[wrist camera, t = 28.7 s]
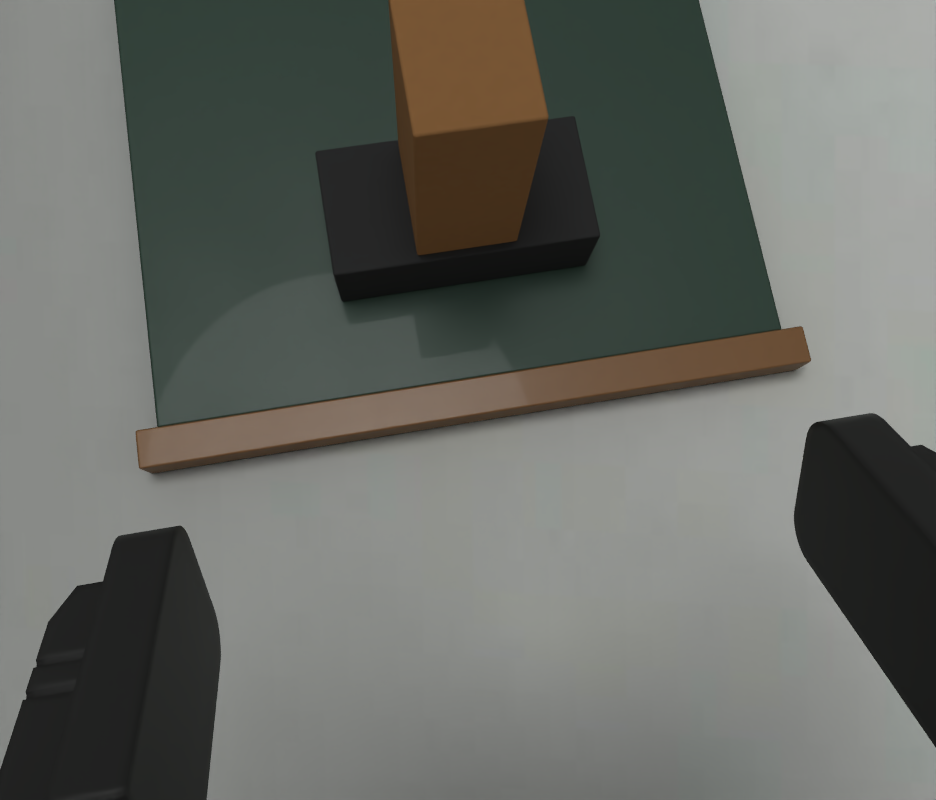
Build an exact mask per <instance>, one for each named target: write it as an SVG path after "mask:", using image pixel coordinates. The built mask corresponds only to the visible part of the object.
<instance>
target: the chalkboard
mask: <svg viewBox="0 0 936 800" xmlns="http://www.w3.org/2000/svg"><path fill="white" fill-rule="evenodd" d="M524 1H525V6H526V11H527V16H528V21H529V25H530V30H531V35H532V40H533V44H534V49H535V54H536V59H537V64H538V68H539V73H540V78H541V83H542V87H543V92H544V97H545V102H546V106H547V111H548V116H549V117H548V119H555V118H562V117H569V116H574V117H575V119H576V124H577V129H578V133H579V138H580V143H581V147H582V152H583V156H584V161H585V166H586V170H587V175H588V180H589V184H590V189H591V193H592V198H593V203H594V207H595V212H596V217H597V221H598V226H599V230H600V237H599V239H598V241H597V243H596V245H595V248H594V250H593V252H592V254H591V256H590V258H589V260H588V262H587V264H586V265H584V266H577V267H571V268H564V269H557V270H551V271H544V272H537V273H531V274H524V275H517V276H511V277H504V278H497V279H491V280H484V281H478V282H471V283H464V284H458V285H451V286H444V287H438V288H431V289H424V290H418V291H411V292H404V293H398V294H391V295H384V296H378V297H371V298H365V299H358V300H351V301H345V302H344V301H342V300H341V298H340V294H339V291H338V288H337V285H336V282H335V278H334V275H333V270H332V263H331V256H330V250H329V243H328V236H327V230H326V223H325V216H324V210H323V203H322V196H321V190H320V183H319V176H318V170H317V163H316V156H315V153H316V151H321V150H328V149H335V148H343V147H350V146H357V145H364V144H372V143H379V142H386V141H394V140H398V131H397V116H396V102H395V88H394V74H393V59H392V45H391V31H390V16H389V2H388V0H114V4H115V14H116V23H117V33H118V43H119V53H120V63H121V73H122V83H123V92H124V102H125V112H126V122H127V132H128V142H129V152H130V161H131V171H132V181H133V191H134V201H135V211H136V221H137V230H138V240H139V250H140V260H141V270H142V280H143V290H144V299H145V309H146V319H147V329H148V339H149V349H150V359H151V369H152V378H153V388H154V398H155V408H156V418H157V426H158V427H155V428H149V429H143V430H137V431H136V442H137V452H138V463H139V468H140V469H142V470H144V471H147V472H149V473H158V472H164V471H171V470H177V469H183V468H189V467H195V466H202V465H208V464H214V463H220V462H227V461H233V460H239V459H245V458H251V457H258V456H264V455H270V454H276V453H283V452H289V451H295V450H301V449H307V448H314V447H320V446H326V445H332V444H339V443H345V442H351V441H357V440H363V439H370V438H376V437H382V436H388V435H395V434H401V433H407V432H413V431H420V430H426V429H432V428H438V427H444V426H451V425H457V424H463V423H469V422H476V421H482V420H488V419H494V418H500V417H507V416H513V415H519V414H525V413H532V412H538V411H544V410H550V409H556V408H563V407H569V406H575V405H581V404H588V403H594V402H600V401H606V400H612V399H619V398H625V397H631V396H637V395H644V394H650V393H656V392H662V391H668V390H675V389H681V388H687V387H693V386H700V385H706V384H712V383H718V382H725V381H731V380H737V379H743V378H749V377H756V376H762V375H768V374H774V373H781V372H787V371H793V370H797V369H798V368H800V367H802V366H803V365H805V364H807V363H809V362H810V361H811V358H810V354H809V350H808V346H807V343H806V339H805V335H804V331H803V327H794V328H787V329H781V326H780V322H779V318H778V314H777V310H776V306H775V302H774V298H773V294H772V290H771V286H770V282H769V278H768V274H767V270H766V266H765V262H764V258H763V254H762V250H761V246H760V242H759V238H758V234H757V230H756V227H755V223H754V219H753V215H752V211H751V207H750V203H749V199H748V195H747V191H746V187H745V183H744V179H743V175H742V171H741V167H740V163H739V159H738V155H737V151H736V147H735V143H734V139H733V135H732V131H731V127H730V123H729V119H728V115H727V111H726V107H725V103H724V99H723V95H722V91H721V87H720V83H719V79H718V76H717V72H716V68H715V64H714V60H713V56H712V52H711V48H710V44H709V40H708V36H707V32H706V28H705V24H704V20H703V16H702V12H701V8H700V4H699V0H524Z"/></svg>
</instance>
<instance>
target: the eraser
mask: <svg viewBox="0 0 936 800" xmlns="http://www.w3.org/2000/svg"><path fill="white" fill-rule="evenodd" d="M388 2H389V16H390V31H391V45H392V59H393V74H394V88H395V102H396V116H397V131H398V140H394V141H386V142H379V143H372V144H364V145H357V146H350V147H343V148H335V149H328V150H321V151H316V153H315V156H316V163H317V170H318V176H319V183H320V190H321V196H322V203H323V210H324V216H325V223H326V230H327V236H328V243H329V250H330V256H331V263H332V270H333V275H334V278H335V282H336V285H337V288H338V291H339V294H340V298H341V300H342V301H344V302H345V301H351V300H358V299H365V298H371V297H378V296H384V295H391V294H398V293H404V292H411V291H418V290H424V289H431V288H438V287H444V286H451V285H458V284H464V283H471V282H478V281H484V280H491V279H497V278H504V277H511V276H517V275H524V274H531V273H537V272H544V271H551V270H557V269H564V268H571V267H577V266H584V265H586V264H587V262H588V260H589V258H590V256H591V254H592V252H593V250H594V248H595V245H596V243H597V241H598V239H599V237H600V230H599V226H598V221H597V217H596V212H595V207H594V203H593V198H592V193H591V189H590V184H589V180H588V175H587V170H586V166H585V161H584V156H583V152H582V147H581V143H580V138H579V133H578V129H577V124H576V119H575V117H574V116H569V117H562V118H555V119H548V117H549V116H548V111H547V106H546V102H545V97H544V92H543V87H542V83H541V78H540V73H539V68H538V64H537V59H536V54H535V49H534V44H533V40H532V35H531V30H530V25H529V21H528V16H527V11H526V6H525V1H524V0H388Z"/></svg>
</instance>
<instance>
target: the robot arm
mask: <svg viewBox="0 0 936 800" xmlns="http://www.w3.org/2000/svg"><path fill="white" fill-rule="evenodd" d="M794 525H795V531H796V536H797V540H798V543H799V546H800V548H801V551H802V553H803V555H804V557H805V558H806V560H807V562H808V563H809V565H810V566H811V567H812V569H813V570H814V572H815V573H816V575H817V576H818V578H819V579H820V580H821V582H822V583H823V585H824V586H825V588H826V589H827V591H828V592H829V593H830V595H831V596H832V598H833V599H834V601H835V602H836V604H837V605H838V607H839V608H840V609H841V611H842V612H843V614H844V615H845V617H846V618H847V620H848V621H849V622H850V624H851V625H852V627H853V628H854V630H855V631H856V633H857V634H858V635H859V637H860V638H861V640H862V641H863V643H864V644H865V646H866V647H867V649H868V650H869V651H870V653H871V654H872V656H873V657H874V659H875V660H876V662H877V663H878V664H879V666H880V667H881V669H882V670H883V672H884V673H885V675H886V676H887V677H888V679H889V680H890V682H891V683H892V685H893V686H894V688H895V689H896V691H897V692H898V693H899V695H900V696H901V698H902V699H903V701H904V702H905V704H906V705H907V706H908V708H909V709H910V711H911V712H912V714H913V715H914V717H915V718H916V719H917V721H918V722H919V724H920V725H921V727H922V728H923V730H924V731H925V733H926V734H927V735H928V737H929V738H930V740H931V741H932V743H933V744H934V746H935V747H936V452H934V451H932V450H930V449H928V448H926V447H925V446H923V445H917V446H911V447H910V446H909V445H908V443H907V442H906V441H905V440H904V439H903V438H902V437H901V436H900V435H899V434H898V433H897V432H896V431H895V430H894V429H893V428H892V427H891V426H890V425H889V424H888V423H887V422H886V421H885V420H884V419H883V418H881V417H880V416H878V415H876V414H873V413H869V414H863V415H857V416H851V417H845V418H839V419H833V420H827V421H821V422H816V423H814V424H813V425H812V426H811V427H810V428H809V430H808V433H807V437H806V443H805V449H804V455H803V461H802V467H801V473H800V479H799V486H798V492H797V498H796V504H795V511H794ZM220 660H221V646H220V634H219V627H218V622H217V617H216V613H215V610H214V607H213V604H212V601H211V599H210V596H209V593H208V590H207V587H206V584H205V582H204V579H203V576H202V573H201V570H200V567H199V565H198V562H197V559H196V556H195V553H194V550H193V548H192V545H191V542H190V539H189V537H188V534H187V532H186V530H185V529H184V528H183V527H182V526H175V527H169V528H163V529H157V530H151V531H145V532H139V533H133V534H127V535H121V536H118V537H117V538H116V540H115V541H114V544H113V547H112V550H111V554H110V558H109V561H108V565H107V569H106V573H105V576H104V580H103V582H97V583H91V584H86V585H80V586H77V587H76V588H75V589H74V590H73V592H72V593H71V594H70V595H69V597H68V598H67V599H66V600H65V602H64V603H63V604H62V605H61V607H60V608H59V609H58V611H57V612H56V613H55V614H54V616H53V617H52V618H51V619H50V621H49V622H48V625H47V628H46V631H45V634H44V637H43V640H42V643H41V646H40V649H39V652H38V656H37V659H36V662H37V667H35V668H33V671H32V674H31V677H30V680H29V683H28V686H27V689H26V695H27V697H26V700H23V702H22V705H21V708H20V711H19V714H18V717H17V720H16V723H15V726H14V729H13V732H12V735H11V739H10V742H9V745H8V748H7V751H6V754H5V757H4V760H3V763H2V766H1V769H0V800H206V799H207V789H208V779H209V770H210V760H211V750H212V740H213V730H214V720H215V711H216V701H217V691H218V681H219V671H220Z"/></svg>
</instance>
